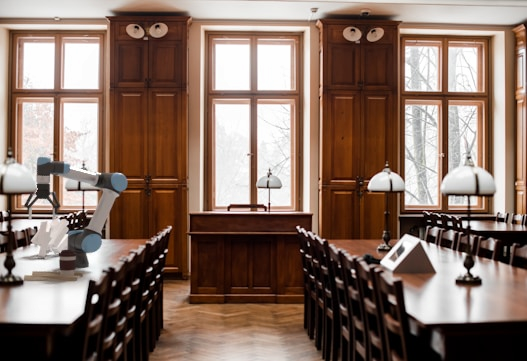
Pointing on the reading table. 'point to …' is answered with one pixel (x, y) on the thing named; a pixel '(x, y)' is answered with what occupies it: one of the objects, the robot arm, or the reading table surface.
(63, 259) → the coffee cup
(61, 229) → the white jagged sculpture
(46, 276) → the beech guide rails
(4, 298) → the reading table surface
